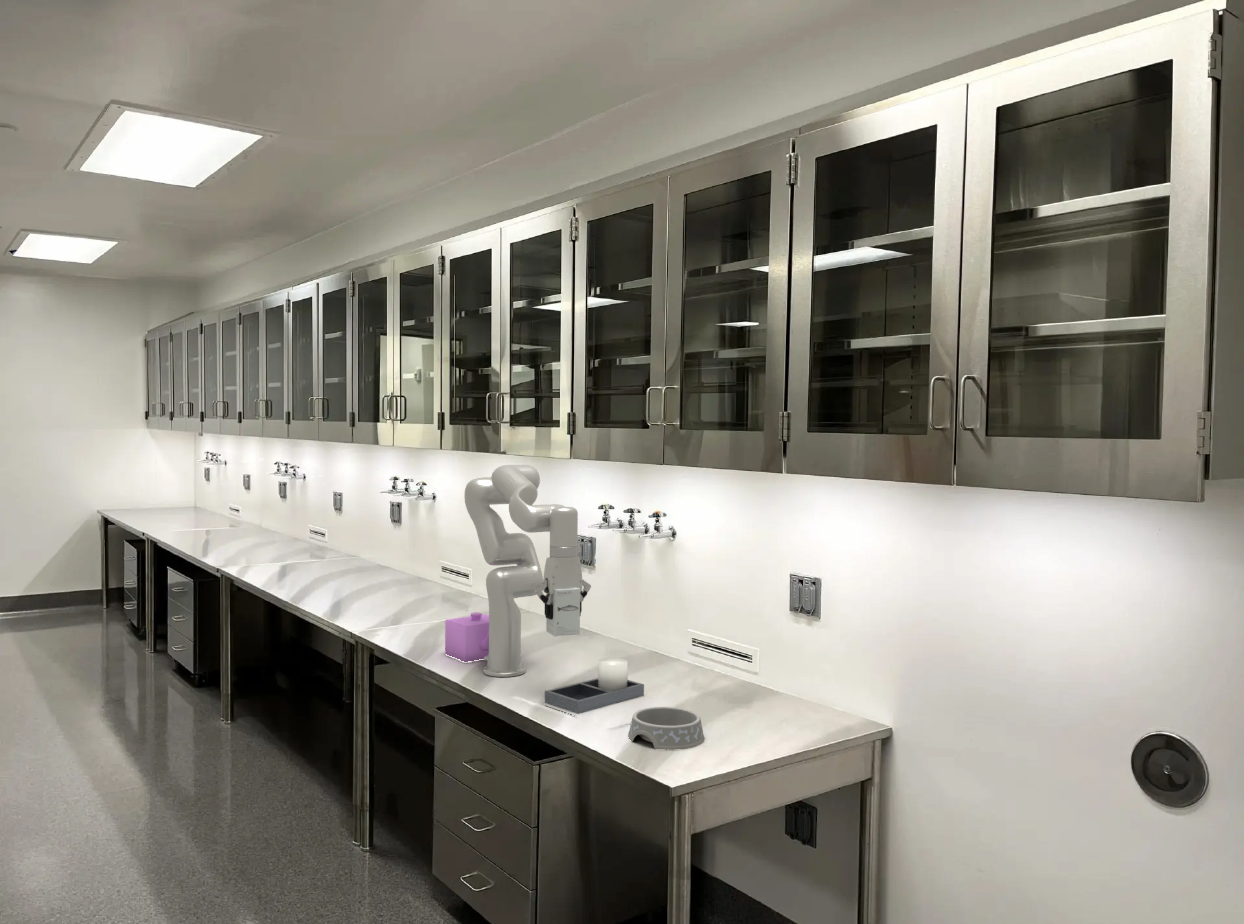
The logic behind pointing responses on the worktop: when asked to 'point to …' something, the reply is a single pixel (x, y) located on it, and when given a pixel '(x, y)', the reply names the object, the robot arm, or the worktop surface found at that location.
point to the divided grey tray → (590, 696)
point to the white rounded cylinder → (612, 674)
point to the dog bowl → (667, 727)
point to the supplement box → (565, 613)
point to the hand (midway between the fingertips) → (563, 616)
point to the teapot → (467, 637)
